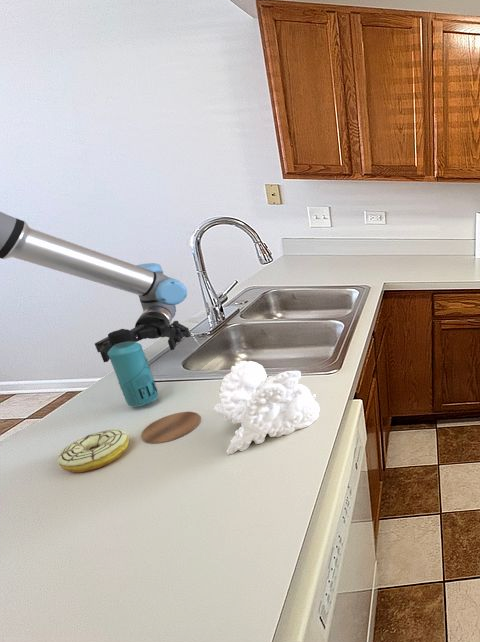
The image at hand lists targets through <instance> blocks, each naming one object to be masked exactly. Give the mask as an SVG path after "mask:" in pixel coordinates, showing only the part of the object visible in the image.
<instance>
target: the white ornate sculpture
mask: <svg viewBox="0 0 480 642" xmlns="http://www.w3.org/2000/svg"><path fill="white" fill-rule="evenodd" d="M267 375H268V374H267V372H266V370H265V368H264V366H263V365H262V364H260V363H258V362H257V361H254V360H253V361H252V360H240V361H239V362H235V364H234V365H231V367H230V372H228V373H227V374H226V375H224V377H223V379H222V380H221V382H220V387H219V394H217V396H218V399H219V402H218V403H216V404H214V405H213V407H212V408H213V412H215V413H216V415H217V416H219V417H221V418H223V420H224V421H226V422H231V423H232V424H239V423H240V425H241V426H240V427H239V428H238V429H236V430H235V431H234V434H235V435H234V436H233V437H232V438H231V439H230V441H229V445H228V448H227V449H226V455H228V456H229V455H232V454H233V455H234V454H235V453H236V452H237V451H240V452H243V451H245V450H247V449H249V447H250V445H251V444H252V442H254V444H257V445H260V444H262V443H264V442H265V440H266V436H267V435H268V436H269V437H270V438H273V437H274V438H280V437H282V436H283V435H285V436H288V435H290V434H292V433H294V432H295V431H298V430H299V429H301V430H302V429H305V428H307V427H309V426H311V425H312V424H313V423H315V421H317V420H318V419H319V416H320V412H321V407H320V404H319V402H317V401H316V397H317V395H316V393H314V394H312V393H311V389H309V388H308V386H306V385H304V384H302V383H299V382H300V380H301V378H302V373H301V371H300V370H285V371H282V372H279V373H277V374H276V375H271V376H267Z"/></svg>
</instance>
